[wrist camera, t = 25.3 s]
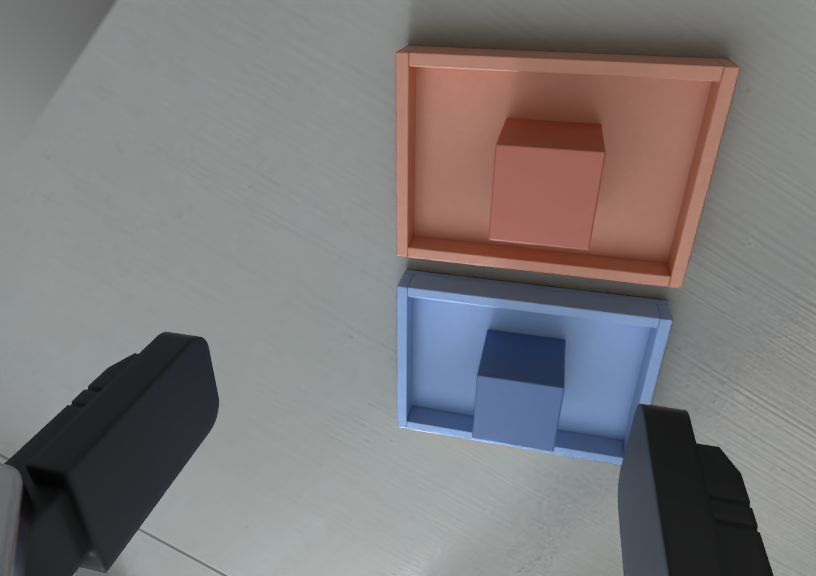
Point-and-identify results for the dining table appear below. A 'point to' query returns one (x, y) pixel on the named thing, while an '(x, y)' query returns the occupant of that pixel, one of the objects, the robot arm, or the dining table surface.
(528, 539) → the dining table surface
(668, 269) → the clay tray
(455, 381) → the blue tray
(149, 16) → the dining table surface
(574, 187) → the terracotta block
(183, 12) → the dining table surface
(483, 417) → the blue block
